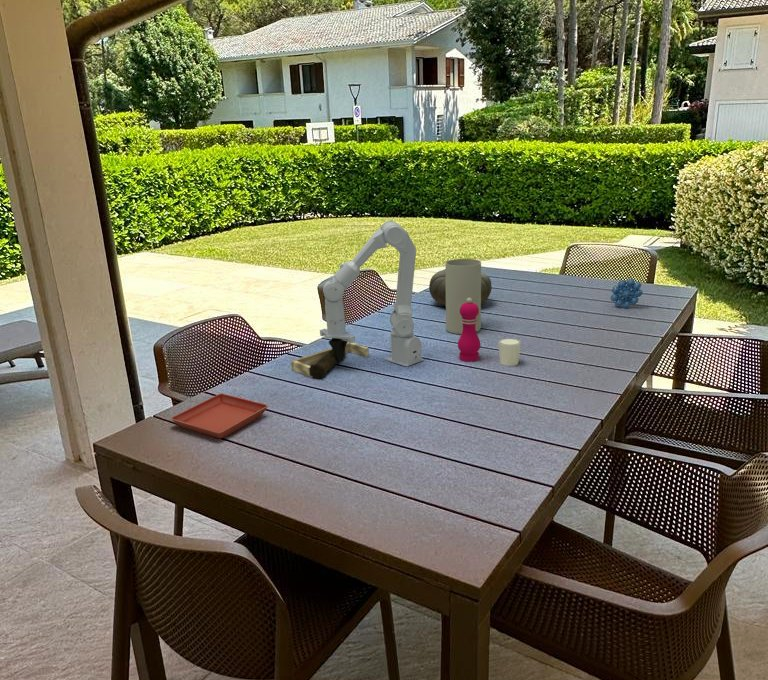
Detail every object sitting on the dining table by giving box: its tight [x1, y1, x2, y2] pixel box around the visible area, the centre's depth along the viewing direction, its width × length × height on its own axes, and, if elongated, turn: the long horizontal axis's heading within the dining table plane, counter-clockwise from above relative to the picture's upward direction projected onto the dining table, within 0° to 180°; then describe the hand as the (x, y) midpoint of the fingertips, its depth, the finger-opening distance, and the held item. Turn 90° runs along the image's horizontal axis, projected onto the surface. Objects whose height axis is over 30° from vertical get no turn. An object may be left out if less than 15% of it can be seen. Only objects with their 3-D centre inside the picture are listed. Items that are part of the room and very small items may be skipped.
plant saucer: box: [170, 393, 269, 439], centre depth 169 cm, size 18×18×3 cm
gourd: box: [428, 268, 493, 307], centre depth 267 cm, size 25×25×17 cm
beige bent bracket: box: [290, 342, 370, 378], centre depth 208 cm, size 9×24×3 cm, turn 133°
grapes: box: [610, 278, 644, 309], centre depth 254 cm, size 12×7×12 cm, turn 68°
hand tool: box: [310, 349, 346, 379], centre depth 205 cm, size 23×5×6 cm, turn 159°
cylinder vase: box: [445, 258, 482, 335], centre depth 233 cm, size 12×12×25 cm
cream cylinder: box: [498, 338, 522, 367], centre depth 201 cm, size 7×7×7 cm
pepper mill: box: [457, 298, 481, 363], centre depth 205 cm, size 7×7×20 cm
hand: (339, 360), depth 205 cm, fingers closed, pressing on hand tool
